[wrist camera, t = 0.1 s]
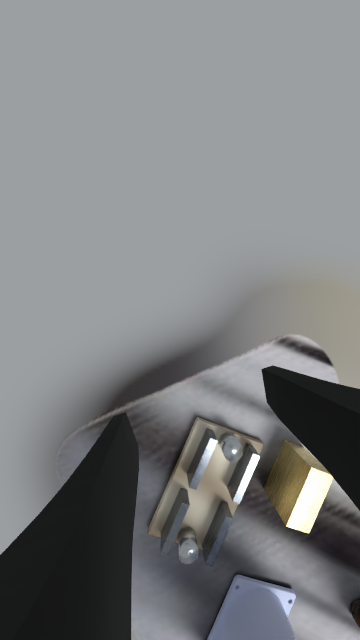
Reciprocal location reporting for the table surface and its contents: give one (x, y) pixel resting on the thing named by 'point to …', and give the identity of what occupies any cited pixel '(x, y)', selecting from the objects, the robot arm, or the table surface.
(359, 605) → the bolt
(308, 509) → the khaki rectangular block
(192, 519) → the plywood plate
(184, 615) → the table surface
